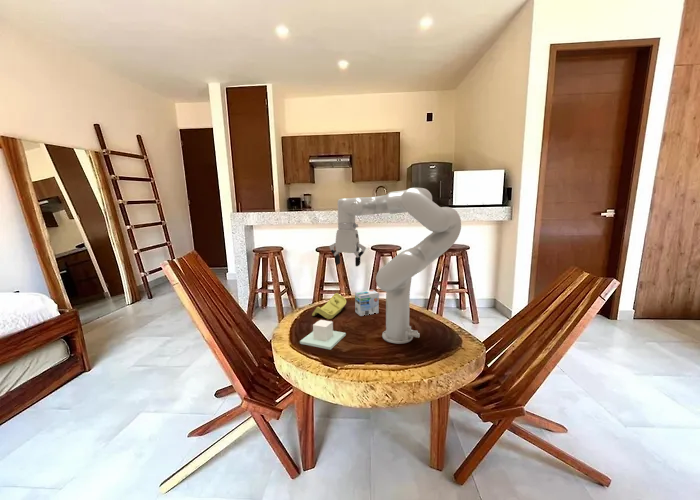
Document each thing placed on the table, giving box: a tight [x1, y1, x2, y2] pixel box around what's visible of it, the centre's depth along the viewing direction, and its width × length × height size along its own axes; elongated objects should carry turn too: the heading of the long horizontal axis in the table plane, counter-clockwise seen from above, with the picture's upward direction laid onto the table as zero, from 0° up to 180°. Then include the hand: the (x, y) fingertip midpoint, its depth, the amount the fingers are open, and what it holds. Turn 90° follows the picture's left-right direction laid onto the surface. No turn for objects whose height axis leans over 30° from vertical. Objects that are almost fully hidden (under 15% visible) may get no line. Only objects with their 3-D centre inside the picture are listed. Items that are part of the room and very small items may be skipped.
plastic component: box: [311, 292, 347, 320], centre depth 158 cm, size 20×7×10 cm
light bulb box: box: [354, 289, 380, 317], centre depth 155 cm, size 11×7×11 cm, turn 113°
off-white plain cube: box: [312, 319, 334, 341], centre depth 126 cm, size 6×6×6 cm
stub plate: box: [299, 330, 347, 350], centre depth 126 cm, size 14×14×4 cm
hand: (347, 265), depth 136 cm, fingers open, 9 cm apart
